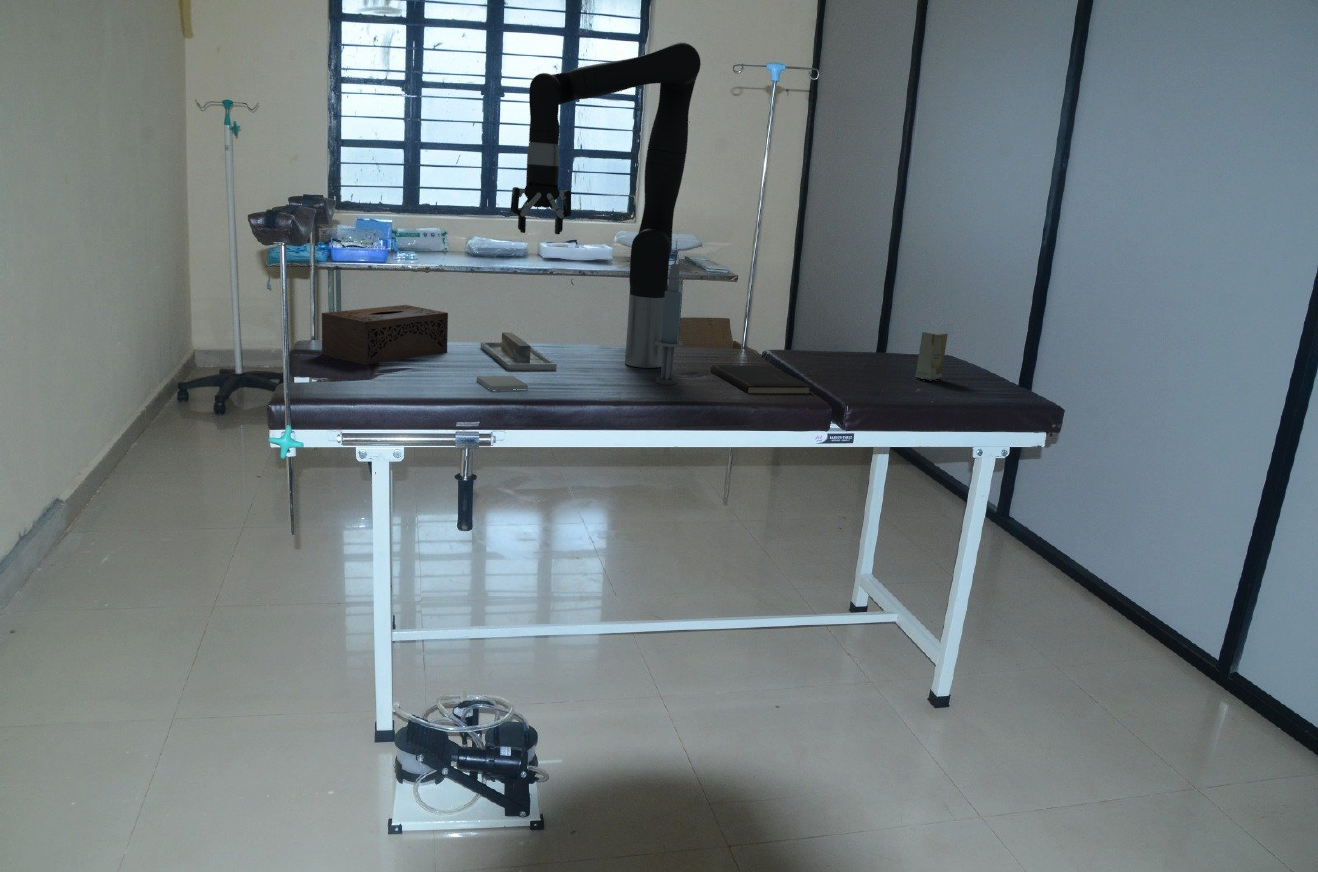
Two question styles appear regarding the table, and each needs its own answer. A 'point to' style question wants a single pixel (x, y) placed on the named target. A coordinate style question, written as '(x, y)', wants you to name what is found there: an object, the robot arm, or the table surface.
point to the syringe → (670, 325)
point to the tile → (501, 382)
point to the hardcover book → (759, 379)
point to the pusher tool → (516, 347)
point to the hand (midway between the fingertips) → (540, 233)
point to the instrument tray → (510, 364)
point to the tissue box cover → (384, 333)
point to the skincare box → (931, 355)
